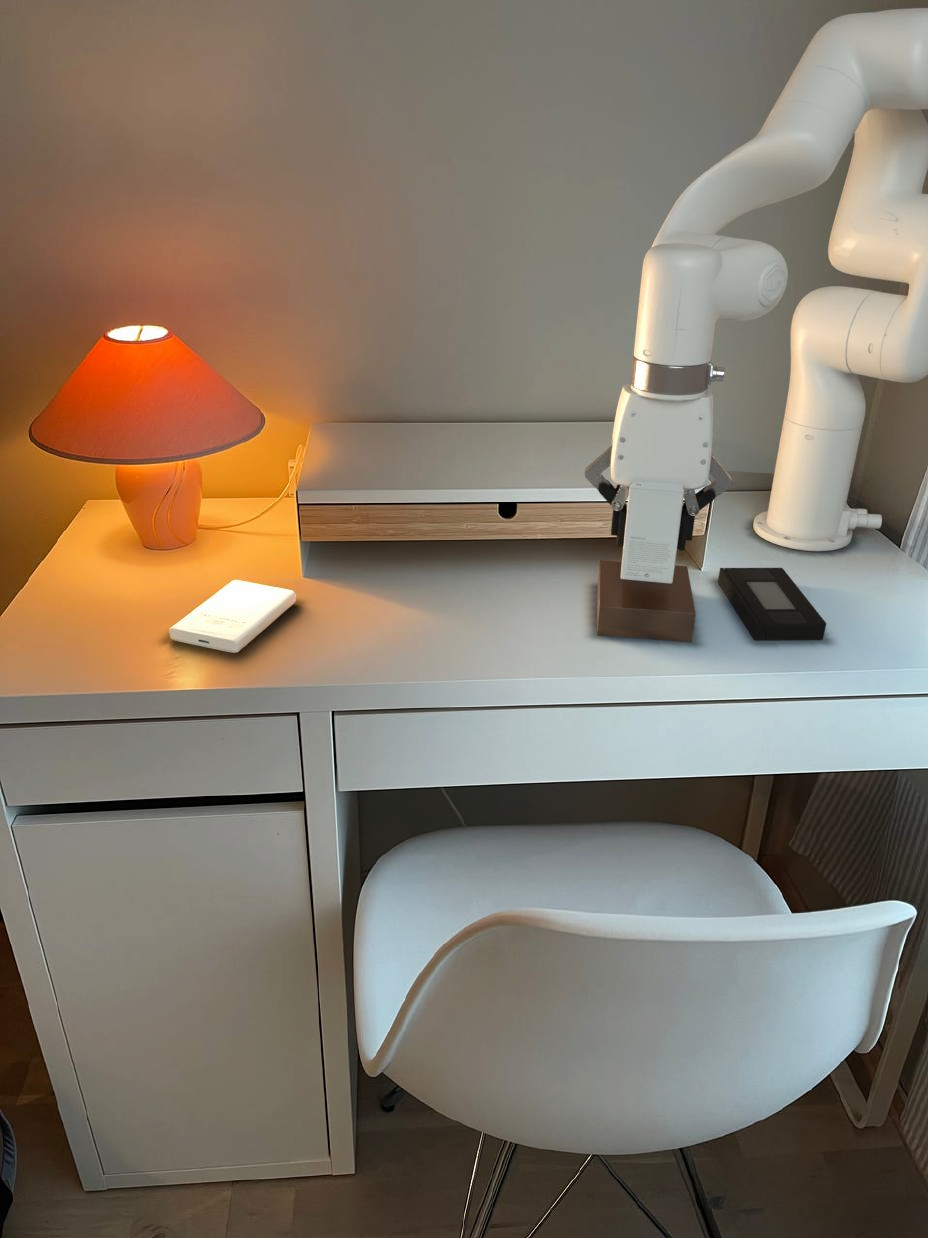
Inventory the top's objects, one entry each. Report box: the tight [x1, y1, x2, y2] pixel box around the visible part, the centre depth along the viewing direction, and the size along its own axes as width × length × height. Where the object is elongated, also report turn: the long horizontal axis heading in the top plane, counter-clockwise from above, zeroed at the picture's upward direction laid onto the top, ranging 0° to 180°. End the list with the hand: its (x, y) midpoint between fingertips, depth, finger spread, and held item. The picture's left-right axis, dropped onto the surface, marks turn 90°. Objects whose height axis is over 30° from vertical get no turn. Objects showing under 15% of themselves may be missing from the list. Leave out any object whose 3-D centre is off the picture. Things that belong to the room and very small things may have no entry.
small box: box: [621, 482, 684, 583], centre depth 106 cm, size 8×6×10 cm
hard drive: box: [168, 579, 297, 654], centre depth 107 cm, size 2×8×12 cm
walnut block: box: [596, 559, 697, 643], centre depth 110 cm, size 10×12×4 cm
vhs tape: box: [717, 567, 827, 641], centre depth 112 cm, size 8×14×2 cm, turn 3°
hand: (650, 541), depth 107 cm, fingers closed on small box, 5 cm apart
